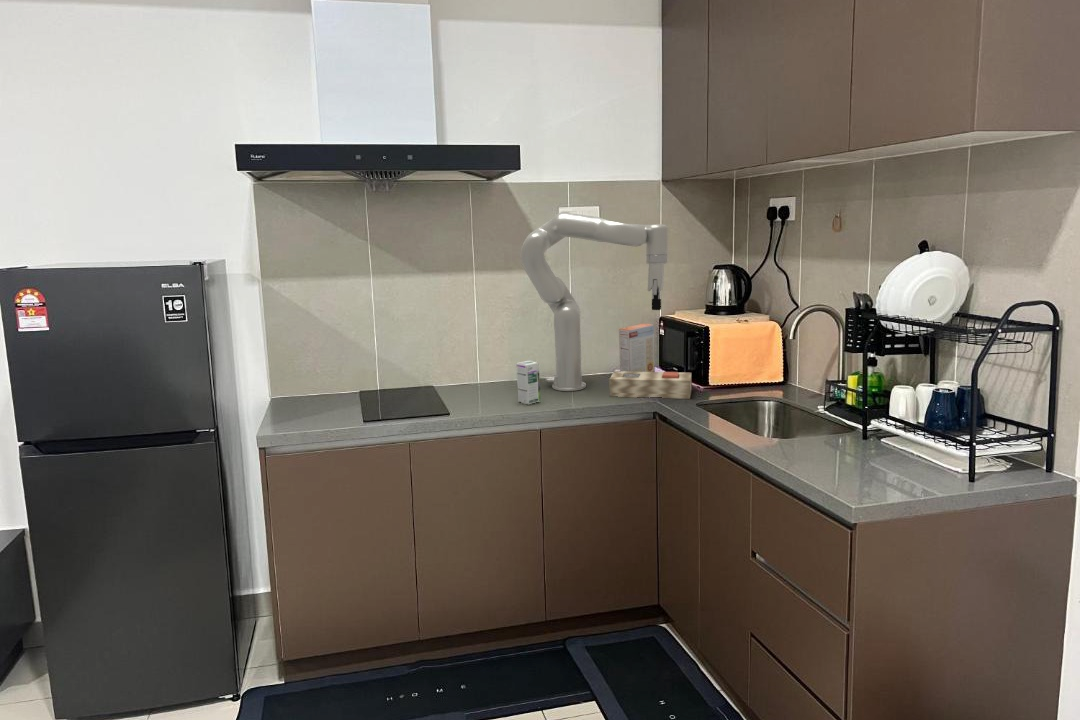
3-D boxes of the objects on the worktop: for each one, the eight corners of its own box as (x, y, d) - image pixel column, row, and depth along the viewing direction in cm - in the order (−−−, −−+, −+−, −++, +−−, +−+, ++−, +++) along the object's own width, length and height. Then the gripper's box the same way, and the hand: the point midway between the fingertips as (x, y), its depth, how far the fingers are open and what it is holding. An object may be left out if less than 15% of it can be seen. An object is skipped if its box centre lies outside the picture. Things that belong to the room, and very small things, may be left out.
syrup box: (528, 405, 272) (526, 364, 269) (517, 402, 277) (516, 362, 274) (541, 402, 276) (539, 362, 273) (530, 399, 280) (528, 359, 277)
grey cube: (623, 389, 281) (623, 377, 280) (625, 386, 286) (624, 373, 285) (637, 390, 280) (637, 377, 279) (639, 386, 285) (639, 373, 284)
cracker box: (643, 375, 309) (643, 322, 305) (655, 377, 305) (655, 324, 300) (619, 381, 300) (618, 327, 296) (630, 384, 296) (629, 329, 292)
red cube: (662, 388, 278) (662, 375, 277) (663, 384, 283) (663, 371, 282) (677, 388, 277) (677, 375, 276) (678, 384, 282) (678, 372, 281)
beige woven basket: (609, 396, 280) (609, 379, 278) (614, 388, 291) (614, 371, 290) (689, 398, 273) (690, 380, 272) (691, 390, 285) (691, 372, 283)
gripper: (648, 257, 290) (648, 306, 294) (643, 261, 276) (643, 312, 280) (669, 257, 289) (668, 306, 293) (665, 261, 274) (664, 313, 278)
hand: (656, 309), depth 286 cm, fingers closed
